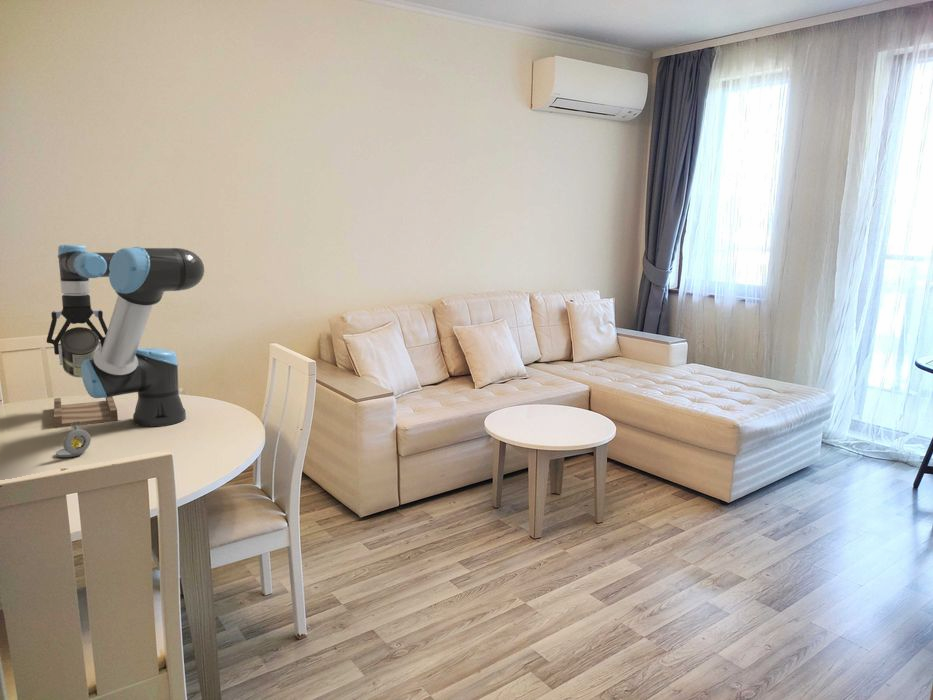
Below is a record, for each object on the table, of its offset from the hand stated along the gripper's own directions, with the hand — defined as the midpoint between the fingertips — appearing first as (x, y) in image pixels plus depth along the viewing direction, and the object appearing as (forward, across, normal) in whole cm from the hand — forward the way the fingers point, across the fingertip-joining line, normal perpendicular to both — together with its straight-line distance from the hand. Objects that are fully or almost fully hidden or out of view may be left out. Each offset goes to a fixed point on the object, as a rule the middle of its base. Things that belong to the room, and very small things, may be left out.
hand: (81, 363), depth 195 cm
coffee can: (+2, 0, -6) cm, 6 cm away
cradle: (+17, 0, 0) cm, 17 cm away
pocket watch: (+17, +4, +42) cm, 45 cm away
